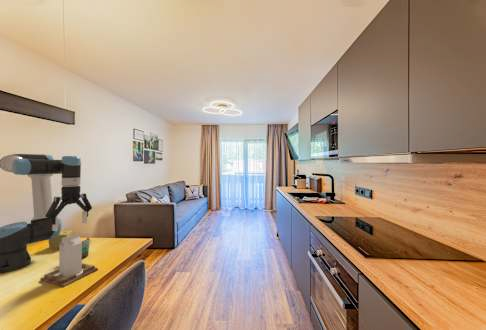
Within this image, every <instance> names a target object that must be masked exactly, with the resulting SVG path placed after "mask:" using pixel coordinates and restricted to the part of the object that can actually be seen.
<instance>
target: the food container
mask: <svg viewBox="0 0 486 330" xmlns="http://www.w3.org/2000/svg"><path fill="white" fill-rule="evenodd" d="M81 242H82V260H83V259H85V258H88V256H89V252H90V251H89V250H90V244H91V243H92V242H91V239H90V238H89V237H87V238H86V239H85V240H81Z"/></svg>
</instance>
